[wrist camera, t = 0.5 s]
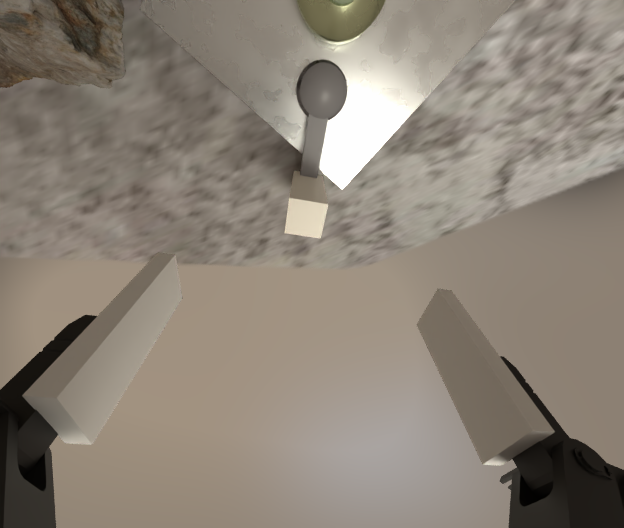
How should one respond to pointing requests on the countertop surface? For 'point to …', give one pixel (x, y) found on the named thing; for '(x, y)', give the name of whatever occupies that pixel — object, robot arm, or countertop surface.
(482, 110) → the countertop surface
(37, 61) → the rock
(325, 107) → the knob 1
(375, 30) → the level plate
